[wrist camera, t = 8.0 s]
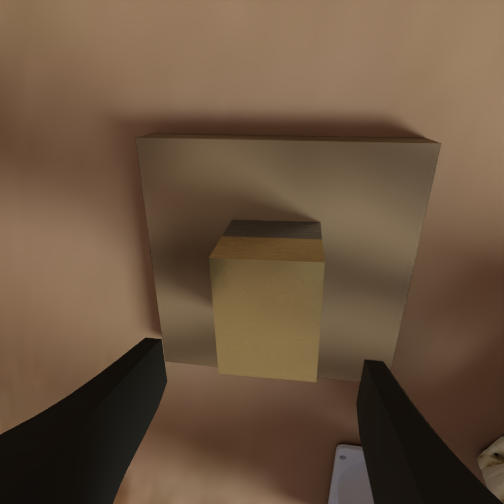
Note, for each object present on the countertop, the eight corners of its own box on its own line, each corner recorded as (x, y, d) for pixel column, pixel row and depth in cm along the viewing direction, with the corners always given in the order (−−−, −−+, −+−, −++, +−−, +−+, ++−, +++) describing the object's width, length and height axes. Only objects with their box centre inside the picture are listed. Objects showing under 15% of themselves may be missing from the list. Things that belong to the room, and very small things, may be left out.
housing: (320, 222, 17) (325, 262, 13) (314, 321, 19) (316, 382, 15) (231, 219, 18) (209, 257, 14) (236, 316, 20) (218, 373, 16)
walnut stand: (380, 361, 22) (387, 385, 21) (175, 341, 24) (165, 361, 22) (426, 138, 17) (441, 143, 15) (152, 133, 18) (135, 137, 17)
